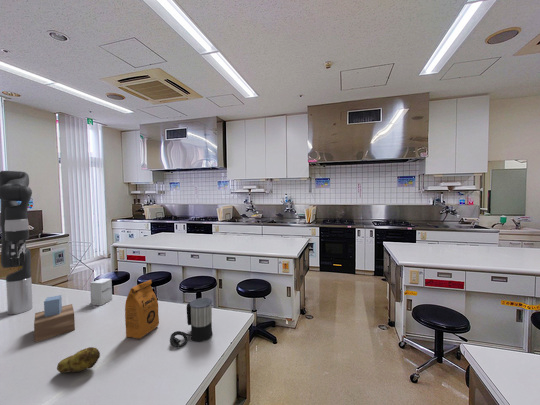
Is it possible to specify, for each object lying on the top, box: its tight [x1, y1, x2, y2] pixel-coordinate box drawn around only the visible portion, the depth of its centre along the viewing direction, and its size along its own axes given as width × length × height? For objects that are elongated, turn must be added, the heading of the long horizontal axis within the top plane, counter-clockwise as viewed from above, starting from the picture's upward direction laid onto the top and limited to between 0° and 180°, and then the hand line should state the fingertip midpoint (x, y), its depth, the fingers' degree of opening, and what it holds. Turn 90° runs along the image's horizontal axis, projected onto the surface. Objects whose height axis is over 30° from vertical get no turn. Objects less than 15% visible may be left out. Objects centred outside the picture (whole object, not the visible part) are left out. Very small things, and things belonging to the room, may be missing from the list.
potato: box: [56, 346, 101, 374], centre depth 82 cm, size 8×13×8 cm, turn 71°
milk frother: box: [169, 297, 214, 348], centre depth 99 cm, size 14×16×15 cm
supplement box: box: [89, 278, 113, 306], centre depth 136 cm, size 7×7×13 cm
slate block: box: [43, 294, 63, 317], centre depth 108 cm, size 5×5×7 cm
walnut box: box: [33, 303, 76, 343], centre depth 108 cm, size 13×13×8 cm
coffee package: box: [124, 279, 160, 339], centre depth 105 cm, size 10×12×22 cm
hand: (18, 264), depth 108 cm, fingers open, 8 cm apart
